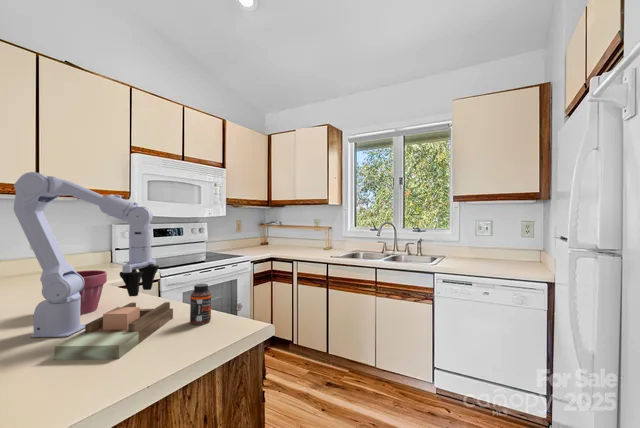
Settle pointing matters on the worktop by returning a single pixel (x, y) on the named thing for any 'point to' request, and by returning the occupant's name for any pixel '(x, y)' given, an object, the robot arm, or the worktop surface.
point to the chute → (113, 336)
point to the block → (120, 317)
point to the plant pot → (91, 289)
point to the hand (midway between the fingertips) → (140, 292)
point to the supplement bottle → (200, 304)
